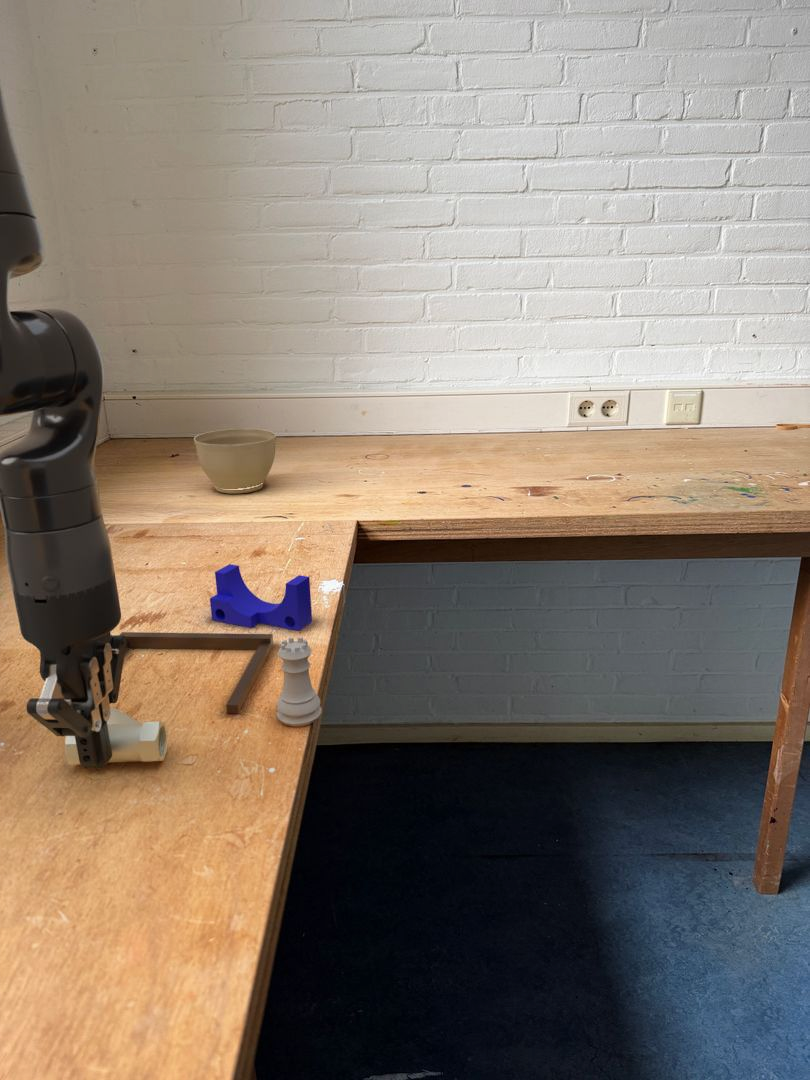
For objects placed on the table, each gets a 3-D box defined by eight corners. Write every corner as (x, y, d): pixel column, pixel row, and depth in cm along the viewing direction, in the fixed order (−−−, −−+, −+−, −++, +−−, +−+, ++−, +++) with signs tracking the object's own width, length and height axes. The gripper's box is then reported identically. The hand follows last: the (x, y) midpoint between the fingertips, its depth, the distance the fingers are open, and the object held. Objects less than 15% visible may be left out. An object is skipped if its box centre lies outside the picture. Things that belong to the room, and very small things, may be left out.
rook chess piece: (331, 712, 79) (327, 639, 77) (301, 733, 76) (296, 657, 73) (297, 700, 82) (292, 628, 79) (267, 719, 78) (260, 646, 76)
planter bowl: (219, 504, 152) (213, 447, 148) (187, 487, 164) (181, 435, 161) (294, 489, 160) (290, 436, 157) (258, 474, 173) (254, 425, 169)
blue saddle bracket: (212, 620, 101) (207, 576, 99) (233, 607, 105) (229, 564, 103) (292, 635, 96) (289, 589, 94) (312, 621, 100) (309, 576, 98)
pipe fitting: (93, 737, 77) (67, 774, 70) (88, 700, 76) (62, 734, 69) (177, 733, 77) (159, 770, 70) (173, 696, 76) (155, 730, 69)
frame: (62, 710, 81) (60, 696, 80) (123, 643, 95) (121, 631, 95) (238, 713, 79) (237, 700, 79) (273, 645, 94) (272, 633, 93)
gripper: (59, 546, 69) (90, 721, 75) (-33, 607, 57) (12, 811, 62) (143, 547, 69) (168, 723, 74) (68, 607, 56) (104, 814, 62)
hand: (96, 763), depth 68 cm, fingers closed
